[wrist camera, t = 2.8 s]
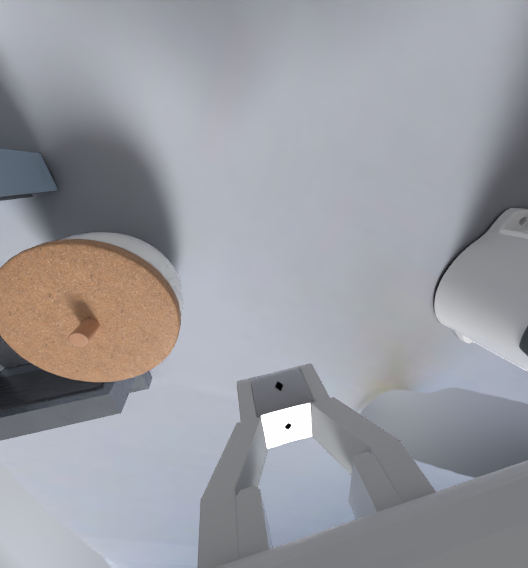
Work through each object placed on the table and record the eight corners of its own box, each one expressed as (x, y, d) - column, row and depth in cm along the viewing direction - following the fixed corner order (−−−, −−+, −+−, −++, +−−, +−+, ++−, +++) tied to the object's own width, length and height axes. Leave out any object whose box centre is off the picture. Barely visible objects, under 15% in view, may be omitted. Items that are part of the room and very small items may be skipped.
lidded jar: (147, 197, 19) (91, 213, 11) (211, 296, 24) (206, 361, 16) (35, 251, 19) (-105, 310, 11) (120, 338, 24) (68, 424, 16)
